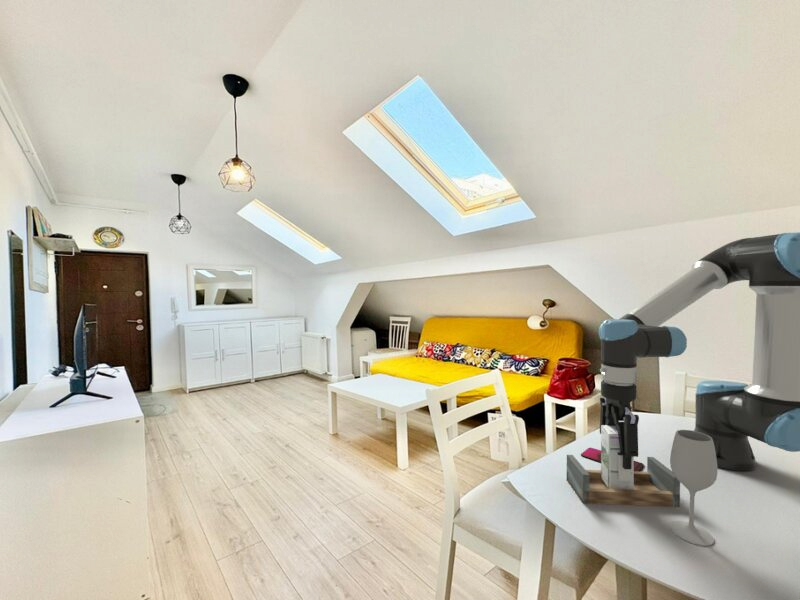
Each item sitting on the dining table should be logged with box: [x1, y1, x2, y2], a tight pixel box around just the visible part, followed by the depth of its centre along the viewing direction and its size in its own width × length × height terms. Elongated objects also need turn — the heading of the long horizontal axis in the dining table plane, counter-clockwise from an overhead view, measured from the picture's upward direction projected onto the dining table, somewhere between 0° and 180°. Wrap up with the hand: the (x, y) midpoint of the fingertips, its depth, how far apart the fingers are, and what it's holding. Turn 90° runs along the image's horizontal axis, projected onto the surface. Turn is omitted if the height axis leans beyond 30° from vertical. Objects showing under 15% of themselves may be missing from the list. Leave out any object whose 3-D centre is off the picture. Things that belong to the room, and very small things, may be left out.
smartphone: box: [580, 447, 645, 472], centre depth 106 cm, size 8×1×15 cm
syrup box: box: [600, 425, 635, 490], centre depth 89 cm, size 6×6×14 cm
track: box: [566, 454, 681, 508], centre depth 90 cm, size 22×10×7 cm, turn 86°
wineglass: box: [669, 429, 719, 547], centre depth 74 cm, size 8×8×21 cm
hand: (617, 472), depth 90 cm, fingers closed on syrup box, 6 cm apart
